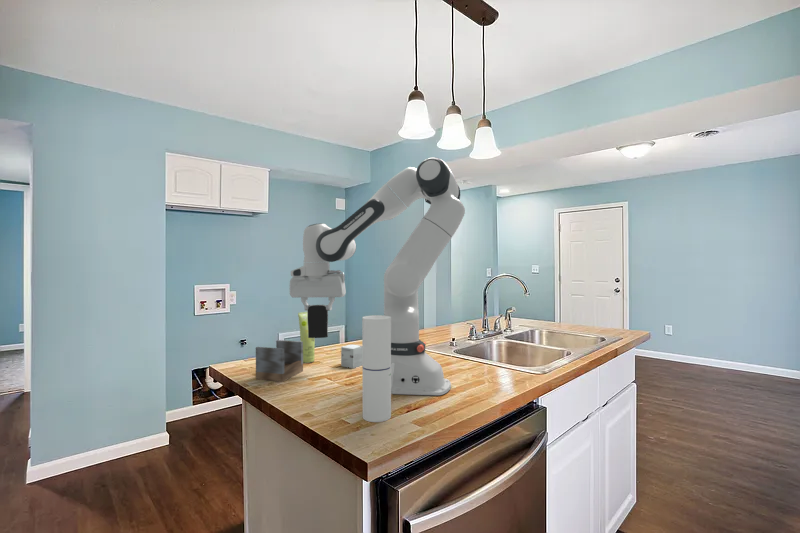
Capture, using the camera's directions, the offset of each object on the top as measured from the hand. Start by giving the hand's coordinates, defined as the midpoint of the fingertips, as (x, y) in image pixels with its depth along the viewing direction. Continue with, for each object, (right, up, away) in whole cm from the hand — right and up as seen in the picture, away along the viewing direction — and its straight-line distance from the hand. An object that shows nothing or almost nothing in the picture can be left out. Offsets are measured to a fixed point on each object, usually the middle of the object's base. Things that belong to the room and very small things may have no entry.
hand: (318, 310), depth 139 cm
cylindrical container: (+23, -23, -39) cm, 50 cm away
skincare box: (+11, -22, +10) cm, 26 cm away
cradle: (-13, -22, -2) cm, 25 cm away
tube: (-7, -22, +16) cm, 28 cm away
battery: (0, -10, 0) cm, 10 cm away
